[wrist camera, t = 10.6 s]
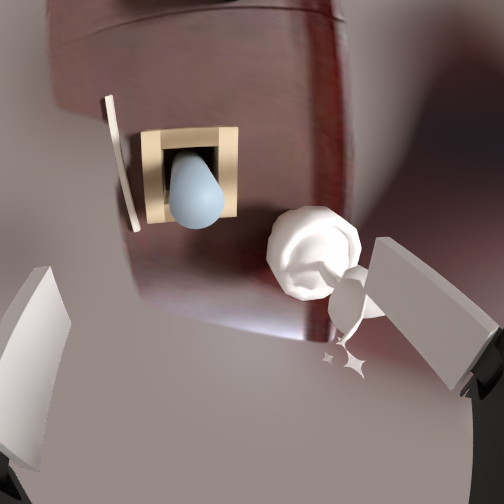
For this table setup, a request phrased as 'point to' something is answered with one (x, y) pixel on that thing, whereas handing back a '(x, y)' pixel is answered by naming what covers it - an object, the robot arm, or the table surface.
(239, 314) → the table surface
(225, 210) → the wooden box
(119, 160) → the white thin rod
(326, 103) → the table surface
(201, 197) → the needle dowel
